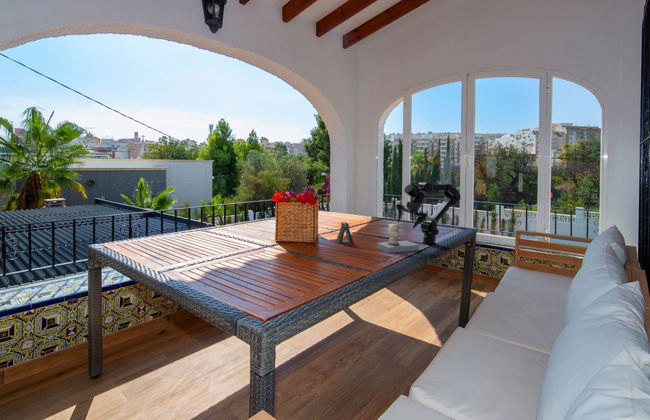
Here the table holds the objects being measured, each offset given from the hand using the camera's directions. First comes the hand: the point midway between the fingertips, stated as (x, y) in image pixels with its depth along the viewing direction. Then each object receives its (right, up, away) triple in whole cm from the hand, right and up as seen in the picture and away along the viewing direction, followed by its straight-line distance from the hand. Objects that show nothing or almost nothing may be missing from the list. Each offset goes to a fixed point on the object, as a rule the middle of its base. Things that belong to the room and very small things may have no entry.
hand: (405, 225), depth 200 cm
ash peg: (-8, -13, -4) cm, 16 cm away
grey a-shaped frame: (-34, -11, +14) cm, 38 cm away
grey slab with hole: (-5, -13, -3) cm, 14 cm away
